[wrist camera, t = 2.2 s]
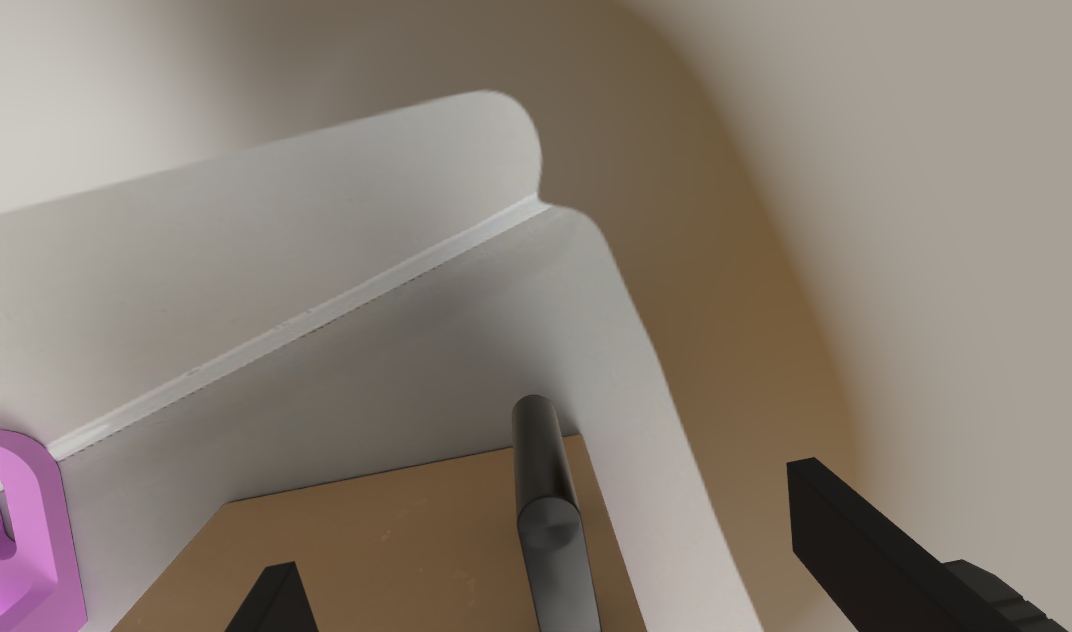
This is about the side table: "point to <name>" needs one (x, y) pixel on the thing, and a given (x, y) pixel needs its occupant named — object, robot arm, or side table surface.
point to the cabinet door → (421, 547)
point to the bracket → (36, 544)
